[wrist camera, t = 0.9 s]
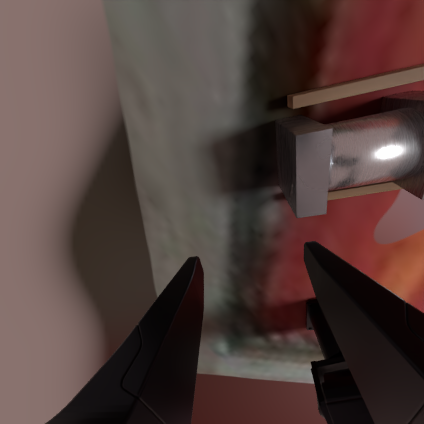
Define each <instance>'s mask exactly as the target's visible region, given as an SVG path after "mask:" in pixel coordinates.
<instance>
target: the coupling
mask: <svg viewBox="0 0 424 424" xmlns="http://www.w3.org/2000/svg"><path fill="white" fill-rule="evenodd" d="M275 128H276V146H277V164H278V182H279V186H280V188H281V190H282V192H283V194H284V196H285V197H286V199H287V201H288V203H289V205H290V207H291V208H292V210H293V212H294V214H295V216H296V218H301V217H308V216H315V215H321V214H326V209H327V196H328V191H331V190H337V189H343V188H350V187H356V186H362V185H368V184H374V183H381V182H387V181H391V182H393V183H394V184H396V185H398V186H400V187H401V188H403V189H405V190H406V191H408V192H410V193H411V194H413V195H415V196H416V197H418V198H420V199H422V200H424V91H408V92H404V93H399V94H394V95H390V96H385V97H383V101H382V106H381V112H380V113H379V114H374V115H369V116H364V117H359V118H354V119H349V120H345V121H340V122H335V123H330V124H325V125H324V124H321V123H319V122H317V121H314V120H312V119H310V118H307V117H305V116H302V115H297V116H293V117H288V118H283V119H279V120H275Z"/></svg>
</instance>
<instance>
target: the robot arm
mask: <svg viewBox="0 0 424 424" xmlns="http://www.w3.org/2000/svg"><path fill="white" fill-rule="evenodd" d="M304 262H305V265H306V268H307V271H308V274H309V277H310V280H311V283H312V286H313V289H314V292H315V295H316V298H317V300H311V301H308V302H307V303H306V328H307V330H314V331H315V334H316V337H317V340H318V342H319V345H320V348H321V350H322V353H323V356H324V359H325V360H321V361H312V362H311V365H312V369H311V371H312V375H313V379H314V383H315V388H316V393H317V401H318V410H319V413H320V415H321V416H322V417H324V418H325V419H326V421H327V423H328V424H424V313H423V312H421V311H420V310H418V309H417V308H415V307H414V306H412V305H411V304H409V303H406V302H405V301H404V300H403V299H402V298H400V297H399V296H397V295H396V294H394V293H393V292H391V291H390V290H388V289H387V288H385V287H384V286H382V285H381V284H379V283H378V282H376V281H375V280H373V279H372V278H370V277H369V276H367V275H366V274H364V273H363V272H361V271H360V270H358V269H356V268H355V267H353V266H352V265H350V264H349V263H347V262H346V261H344V260H343V259H341V258H340V257H338V256H337V255H335V254H334V253H332V252H331V251H329V250H328V249H326V248H325V247H323V246H322V245H320V244H319V243H317V242H315V241H312V242H306V243H305V244H304ZM203 310H204V272H203V268H202V265H201V262H200V259H199V257H197V256H195V257H189V258H188V259H187V261H186V262H185V263H184V264H183V266H182V267H181V268H180V270H179V271H178V272H177V273H176V275H175V276H174V277H173V279H172V280H171V281H170V283H169V284H168V285H167V286H166V288H165V289H164V290H163V292H162V293H161V294H160V295H159V297H158V298H157V299H156V301H155V302H154V303H153V305H152V306H151V307H150V308H149V310H148V311H147V312H146V314H145V315H144V316H143V317H142V319H141V320H140V321H139V323H138V325H136V326H135V328H134V329H133V330H132V332H131V333H130V334H129V335H128V337H127V338H126V339H125V340H124V342H123V343H122V344H121V345H120V347H119V348H118V349H117V350H116V351H115V352H114V353H113V355H112V356H111V357H110V358H109V359H108V360H107V362H106V363H105V364H104V365H103V366H102V367H101V368H100V369H99V370H98V372H97V373H96V374H95V375H94V376H93V377H92V378H91V379H90V381H89V382H88V383H87V384H86V385H85V386H84V387H83V388H82V389H81V390H80V392H79V393H78V394H77V395H76V396H75V397H74V398H73V399H72V400H71V401H70V402H69V403H68V405H67V406H66V407H65V408H63V409H62V410H61V411H60V412H59V413H58V414H57V415H56V416H54V417H53V418H52V419H51V420H49V421H48V422H47V423H45V424H191V418H192V410H193V401H194V391H195V383H196V374H197V365H198V356H199V347H200V338H201V329H202V320H203Z"/></svg>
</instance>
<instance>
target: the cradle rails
mask: <svg viewBox="0 0 424 424" xmlns="http://www.w3.org/2000/svg"><path fill="white" fill-rule="evenodd" d="M421 80H424V64H421V65H416V66H412V67H408V68H404V69H399V70H395V71H391V72H386V73H382V74H378V75H373V76H369V77H365V78H360V79H356V80H352V81H347V82H343V83H339V84H334V85H330V86H326V87H321V88H317V89H313V90H308V91H304V92H300V93H295V94H291V95H287V102H288V107H289V108H292V109H295V108H299V107H304V106H308V105H313V104H317V103H322V102H326V101H331V100H335V99H340V98H344V97H349V96H353V95H358V94H363V93H367V92H372V91H376V90H381V89H385V88H390V87H394V86H399V85H403V84H408V83H412V82H417V81H421ZM397 189H403V188H401V187H400V186H398V185H396V184H394V183H393V182H391V181H387V182H381V183H374V184H368V185H362V186H356V187H350V188H343V189H337V190H331V191H328V196H327V200H333V199H339V198H346V197H352V196H359V195H365V194H372V193H378V192H384V191H391V190H397Z"/></svg>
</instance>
